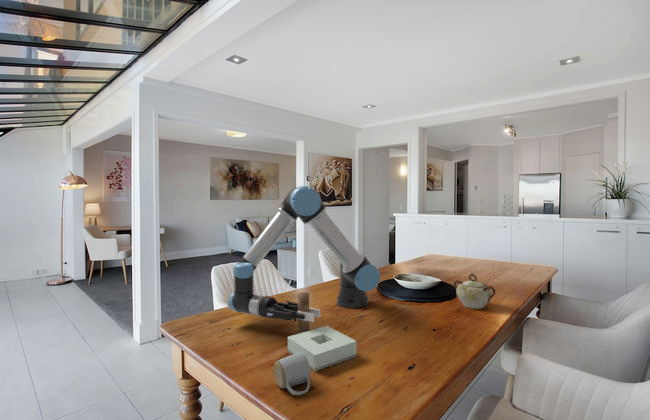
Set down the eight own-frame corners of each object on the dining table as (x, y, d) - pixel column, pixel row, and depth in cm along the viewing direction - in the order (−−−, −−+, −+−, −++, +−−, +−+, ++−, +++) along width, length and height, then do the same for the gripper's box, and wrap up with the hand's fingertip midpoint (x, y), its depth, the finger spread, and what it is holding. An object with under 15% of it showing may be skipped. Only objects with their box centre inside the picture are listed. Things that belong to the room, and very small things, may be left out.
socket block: (287, 351, 109) (287, 336, 108) (327, 339, 118) (326, 325, 118) (314, 372, 96) (314, 355, 95) (356, 356, 105) (356, 341, 105)
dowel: (296, 337, 120) (295, 293, 119) (305, 334, 122) (305, 292, 122) (302, 341, 116) (301, 296, 116) (311, 338, 119) (311, 294, 118)
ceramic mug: (272, 382, 91) (271, 354, 90) (298, 373, 95) (298, 347, 95) (289, 402, 82) (289, 372, 81) (317, 391, 86) (317, 363, 86)
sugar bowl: (445, 304, 157) (445, 272, 156) (462, 298, 166) (462, 268, 165) (486, 315, 141) (486, 280, 140) (502, 308, 150) (503, 275, 149)
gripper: (276, 309, 135) (327, 318, 124) (249, 323, 120) (304, 335, 109) (276, 291, 135) (327, 298, 124) (248, 302, 120) (304, 312, 109)
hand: (316, 315), depth 117 cm, fingers closed on dowel, 4 cm apart
